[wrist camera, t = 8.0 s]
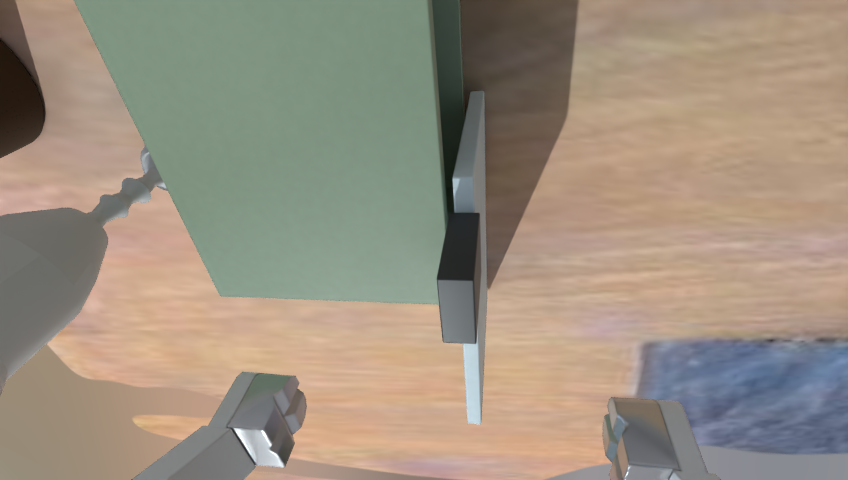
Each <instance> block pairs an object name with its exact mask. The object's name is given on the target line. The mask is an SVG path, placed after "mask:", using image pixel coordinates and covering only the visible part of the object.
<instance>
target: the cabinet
mask: <svg viewBox="0 0 848 480" xmlns="http://www.w3.org/2000/svg"><path fill="white" fill-rule="evenodd" d="M74 1H75V3H76V6H77V8H78V10H79V12H80V14H81V16H82V18H83V20H84V22H85V24H86V26H87V28H88V30H89V32H90V34H91V36H92V38H93V40H94V42H95V44H96V46H97V48H98V50H99V52H100V54H101V56H102V58H103V60H104V62H105V64H106V66H107V68H108V70H109V72H110V74H111V76H112V78H113V80H114V82H115V84H116V86H117V89H118V91H119V93H120V95H121V97H122V99H123V101H124V103H125V105H126V107H127V109H128V111H129V113H130V115H131V117H132V119H133V121H134V123H135V125H136V127H137V129H138V131H139V133H140V135H141V137H142V139H143V141H144V143H145V145H146V147H147V149H148V151H149V153H150V155H151V157H152V159H153V161H154V163H155V165H156V167H157V169H158V172H159V174H160V176H161V178H162V180H163V182H164V184H165V186H166V188H167V190H168V192H169V194H170V196H171V198H172V200H173V202H174V204H175V206H176V208H177V210H178V212H179V214H180V216H181V218H182V220H183V222H184V224H185V226H186V228H187V230H188V232H189V234H190V236H191V238H192V240H193V242H194V244H195V246H196V248H197V250H198V252H199V255H200V257H201V259H202V261H203V263H204V265H205V267H206V269H207V271H208V273H209V275H210V277H211V279H212V281H213V283H214V285H215V287H216V289H217V291H218V293H219V295H220V296H223V297H250V298H277V299H304V300H330V301H357V302H384V303H411V304H438V305H439V299H438V289H437V274H438V269H439V264H440V258H441V253H442V248H443V243H444V238H445V233H446V227H447V222H448V217H449V213H455V212H454V196H453V180H452V178H453V173H454V168H455V164H456V159H457V154H458V149H459V144H460V140H461V135H462V130H463V125H464V120H465V111H464V86H463V61H462V36H461V12H460V0H74Z"/></svg>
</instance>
